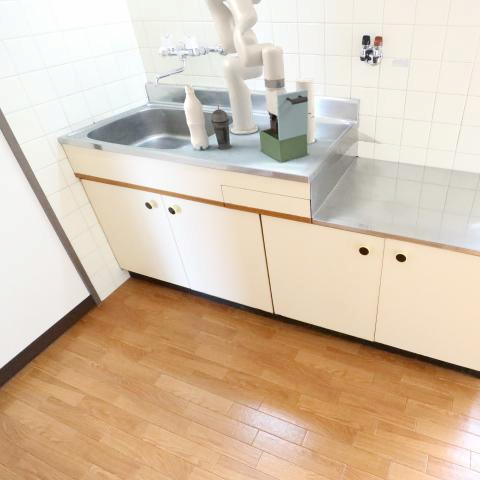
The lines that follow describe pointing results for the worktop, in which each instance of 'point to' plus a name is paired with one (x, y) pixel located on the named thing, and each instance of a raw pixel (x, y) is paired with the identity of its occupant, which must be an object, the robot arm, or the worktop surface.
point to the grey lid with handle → (292, 114)
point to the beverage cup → (221, 127)
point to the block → (274, 126)
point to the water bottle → (195, 119)
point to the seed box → (283, 145)
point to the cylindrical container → (308, 85)
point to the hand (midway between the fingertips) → (278, 130)
